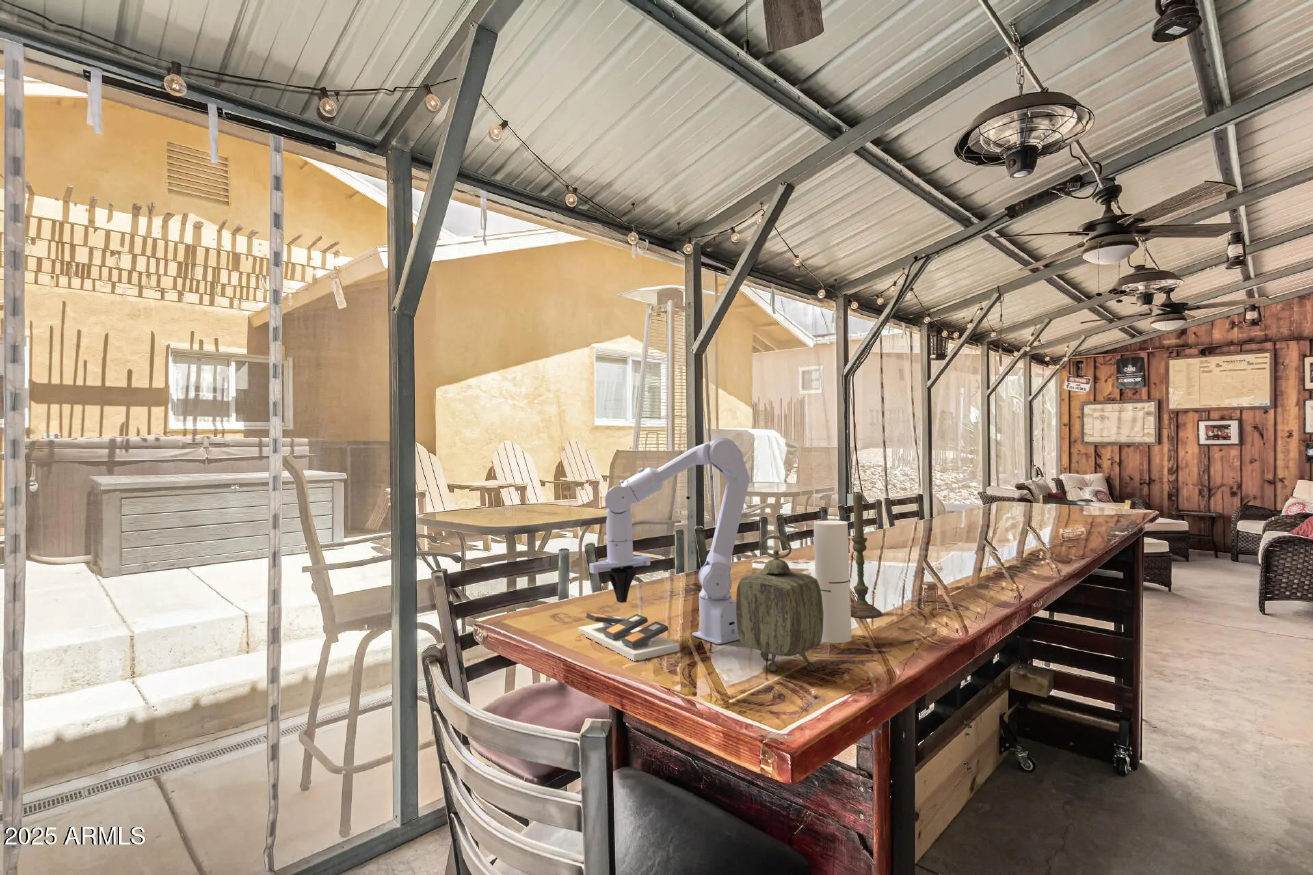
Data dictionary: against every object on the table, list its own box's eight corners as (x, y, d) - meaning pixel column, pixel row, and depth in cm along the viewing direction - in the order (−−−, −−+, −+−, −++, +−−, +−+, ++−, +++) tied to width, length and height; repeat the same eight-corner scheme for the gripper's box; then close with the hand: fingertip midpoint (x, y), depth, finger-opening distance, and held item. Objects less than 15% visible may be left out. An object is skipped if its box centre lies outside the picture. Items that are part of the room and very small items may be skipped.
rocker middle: (648, 621, 144) (646, 617, 144) (614, 639, 139) (612, 634, 139) (637, 617, 148) (636, 613, 148) (604, 635, 143) (602, 630, 143)
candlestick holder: (835, 611, 164) (831, 491, 165) (866, 607, 167) (862, 490, 168) (856, 619, 156) (852, 493, 156) (889, 615, 158) (885, 491, 159)
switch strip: (679, 650, 136) (679, 638, 136) (633, 661, 130) (633, 648, 130) (619, 625, 157) (619, 615, 157) (578, 633, 151) (577, 623, 151)
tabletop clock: (825, 671, 121) (820, 535, 122) (797, 684, 115) (792, 541, 115) (762, 654, 132) (758, 530, 132) (733, 666, 125) (729, 535, 126)
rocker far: (629, 624, 150) (630, 619, 151) (595, 621, 146) (596, 616, 146) (619, 620, 154) (620, 616, 154) (586, 617, 149) (587, 612, 150)
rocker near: (668, 630, 137) (667, 625, 137) (633, 648, 132) (631, 643, 132) (657, 625, 141) (655, 620, 141) (622, 643, 136) (621, 638, 136)
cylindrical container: (853, 643, 137) (848, 524, 138) (818, 642, 139) (814, 524, 139) (850, 633, 144) (846, 520, 145) (816, 633, 146) (812, 520, 146)
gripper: (637, 535, 152) (639, 593, 152) (582, 541, 144) (584, 603, 144) (654, 537, 146) (656, 598, 146) (597, 545, 138) (599, 609, 138)
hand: (621, 601), depth 145 cm, fingers closed
